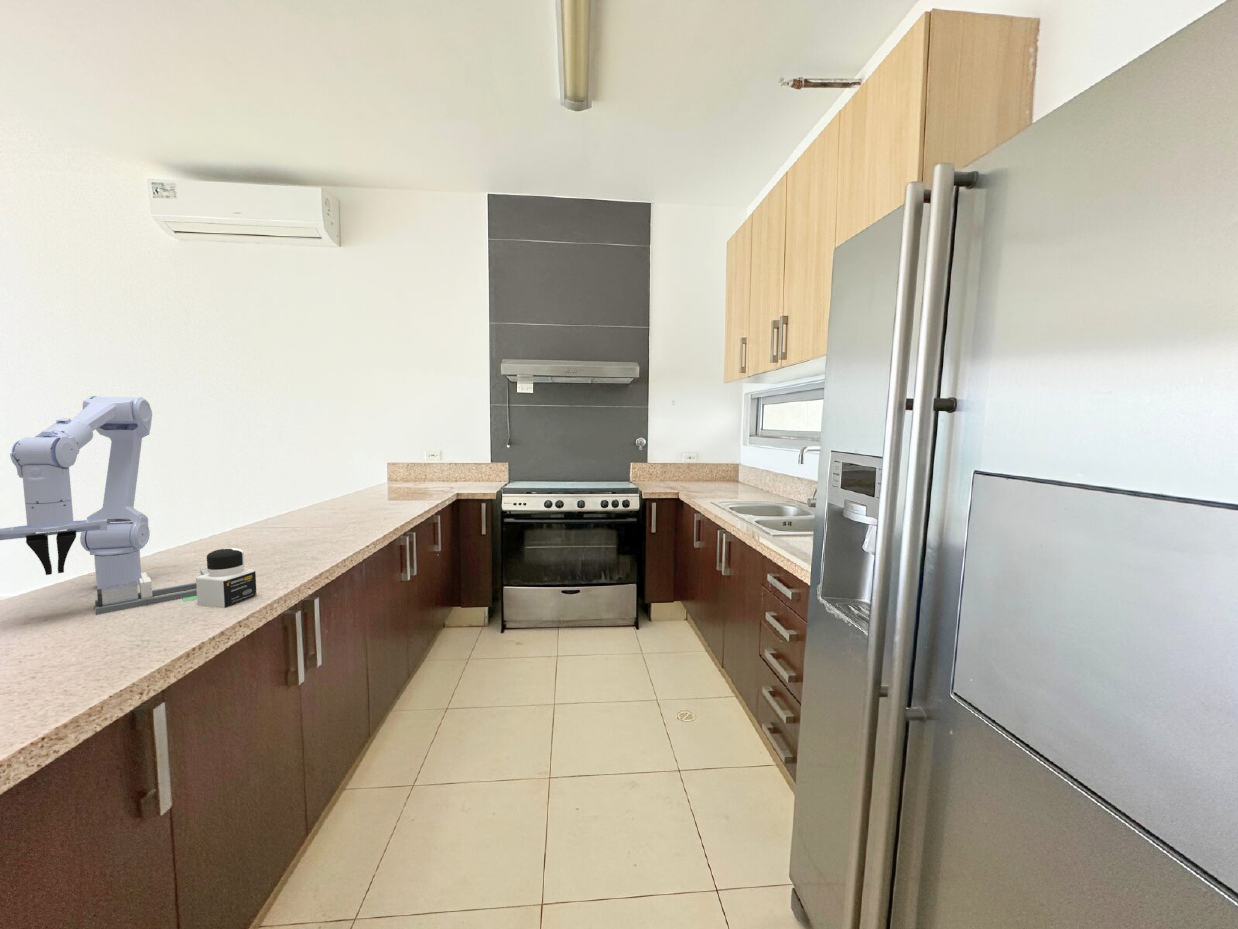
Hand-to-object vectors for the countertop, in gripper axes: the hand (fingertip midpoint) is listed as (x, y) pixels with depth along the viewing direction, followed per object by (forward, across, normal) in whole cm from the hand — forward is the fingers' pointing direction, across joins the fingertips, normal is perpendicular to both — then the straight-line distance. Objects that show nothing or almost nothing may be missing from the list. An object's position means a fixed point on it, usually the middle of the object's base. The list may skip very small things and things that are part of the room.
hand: (55, 572), depth 93 cm
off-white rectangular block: (+9, +12, 0) cm, 15 cm away
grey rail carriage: (+9, +8, 0) cm, 12 cm away
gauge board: (+10, +14, 0) cm, 17 cm away
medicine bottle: (+10, +24, -11) cm, 28 cm away
